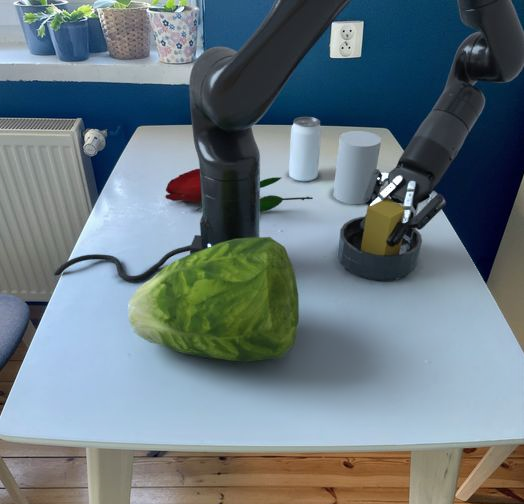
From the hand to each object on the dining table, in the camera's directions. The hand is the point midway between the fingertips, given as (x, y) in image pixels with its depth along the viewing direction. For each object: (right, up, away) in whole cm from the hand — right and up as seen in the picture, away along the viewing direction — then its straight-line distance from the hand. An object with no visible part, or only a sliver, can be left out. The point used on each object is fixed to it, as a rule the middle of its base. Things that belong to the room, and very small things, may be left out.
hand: (376, 238), depth 90 cm
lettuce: (-26, -18, -11) cm, 33 cm away
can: (-10, +20, +32) cm, 39 cm away
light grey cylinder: (0, +14, +25) cm, 28 cm away
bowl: (+1, -3, +6) cm, 6 cm away
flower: (-24, +10, +19) cm, 32 cm away
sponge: (+1, -3, +4) cm, 6 cm away
